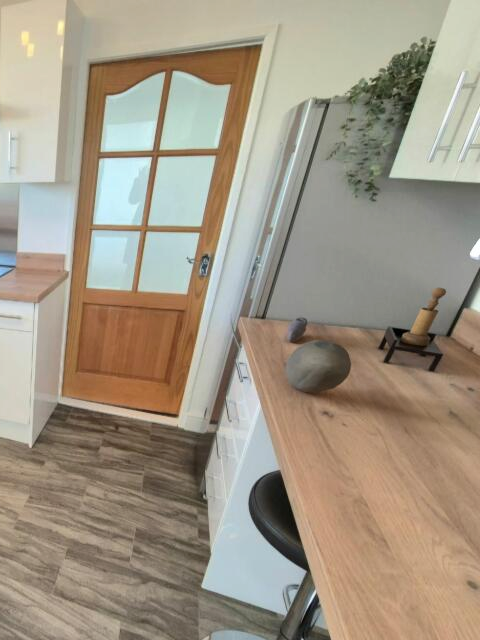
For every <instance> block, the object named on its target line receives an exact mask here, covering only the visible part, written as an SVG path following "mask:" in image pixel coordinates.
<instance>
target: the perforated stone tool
mask: <svg viewBox="0 0 480 640" xmlns="http://www.w3.org/2000/svg"><path fill="white" fill-rule="evenodd" d="M307 325H308V320H307V318H305V317H303V316H298V317H296V318H294V320H292V321H291V322H290V324H289V325H288V327H287V331H286V339H287V341H288V342H290V343H294V342H297V341H298V340H300V339H301V338H302V337H303V335H304V334H305V332H306V331H307Z"/></svg>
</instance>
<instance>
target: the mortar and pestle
mask: <svg viewBox="0 0 480 640" xmlns="http://www.w3.org/2000/svg"><path fill="white" fill-rule="evenodd" d="M446 294H447V290H446V289H445V288H443V287H435V288H434V289H432V291H431V300H429V301H428V302H427V307H421V308H420V310H419V312H418V314H417V317H416V319H415V321H414V322H413V325H412V327H411V328H410V330H411V331H409V332H406V333H404V334H403V336H402V338H401V341H402V342H404V343H407V344H412V345H418V346H426V345H428V343H429V341H430V337H429V336H428V335H427V333H428V332H429V331H430V329H431V327H432V325H433V323H434V321H435V319H436V317H437V315H438V313H439V310H438V309H436V307H437V306H438V305H439V303H440V302H439V300H440V299H441V298H443V297H444V296H445V295H446Z"/></svg>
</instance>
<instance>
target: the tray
mask: <svg viewBox="0 0 480 640" xmlns="http://www.w3.org/2000/svg"><path fill="white" fill-rule="evenodd" d="M409 331H411V329H409V328H403V327H396V326H395V327H394V326H387V328H386V330H385V332H384V335H383V336H382V339H381V341H380V343H379V345H378V350H384V349H385V347H386V344H387V345H388V350H387V353H386V355H385V356H384V358H383V360H382V361H383V363H384V364H389V363H390V361H391V359H392V357H393V354H394V353H395V351H400V352H405V353H411V354H416V355H417V354H418V355H419V356H420V357H424V358H425V357H426V356H427V357H429V356H430V357H433V359H432V362H431V363H430V364H429V367H428V368H427V371H428V372H433V373H434V372H435V370H436V369H437V367H438V365H439V364H440V361H441V360H442V358H443V356H444V353H443V351H442V350H441V349H440V347H439V346H438V344H437V343H436V341H435V338H436V336H437V333H435V332H429V331H428V333H427V335H428V336H429V337H430V341H429V343H428V345H426V346H418V345H412V344H407V343H404V342H402V341H401V338H402V336H403V334H404V333H406V332H409Z"/></svg>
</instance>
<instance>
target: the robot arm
mask: <svg viewBox="0 0 480 640" xmlns="http://www.w3.org/2000/svg"><path fill="white" fill-rule="evenodd" d="M469 256H470V258H471V259H472V260H477V261H480V238H479V239H478V240H477V241H476V243H475V244H474V245H473V247H472V249H471V251H470V252H469Z"/></svg>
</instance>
